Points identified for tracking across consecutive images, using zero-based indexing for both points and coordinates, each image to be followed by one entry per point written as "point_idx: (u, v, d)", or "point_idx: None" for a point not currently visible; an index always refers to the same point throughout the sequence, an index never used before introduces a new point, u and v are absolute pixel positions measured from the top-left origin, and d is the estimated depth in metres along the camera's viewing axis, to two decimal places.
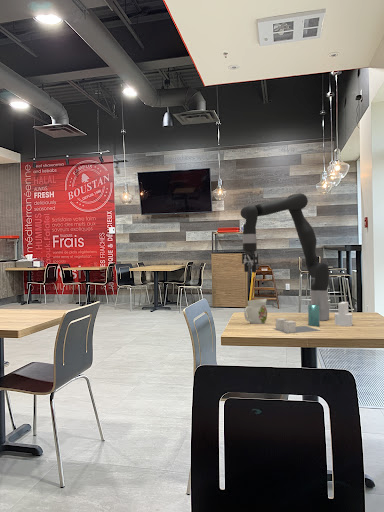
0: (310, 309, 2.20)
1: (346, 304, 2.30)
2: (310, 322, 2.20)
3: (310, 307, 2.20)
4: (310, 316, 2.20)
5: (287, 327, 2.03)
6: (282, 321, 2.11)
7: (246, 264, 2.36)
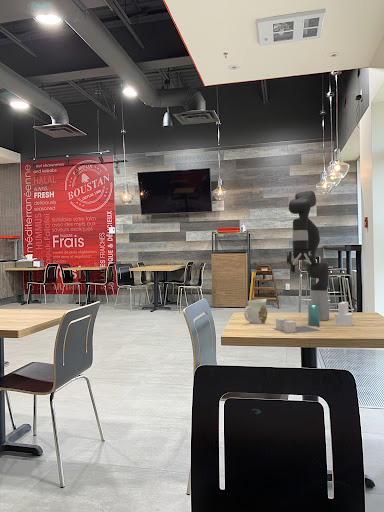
0: (310, 309, 2.20)
1: (346, 304, 2.30)
2: (310, 322, 2.20)
3: (310, 307, 2.20)
4: (310, 316, 2.20)
5: (287, 327, 2.03)
6: (282, 321, 2.11)
7: None
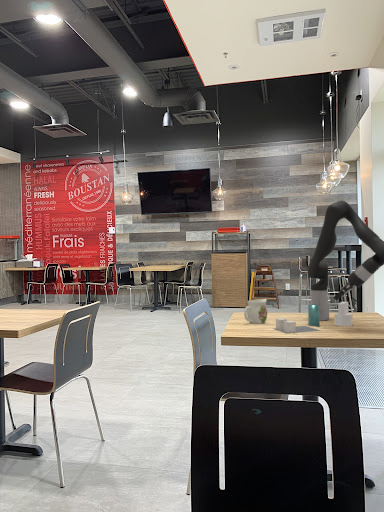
0: (310, 309, 2.20)
1: (346, 304, 2.30)
2: (310, 322, 2.20)
3: (310, 307, 2.20)
4: (310, 316, 2.20)
5: (287, 327, 2.03)
6: (282, 321, 2.11)
7: None
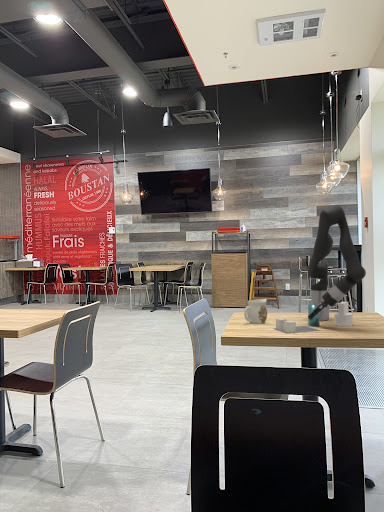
0: (310, 309, 2.20)
1: (346, 304, 2.30)
2: (310, 322, 2.20)
3: (310, 307, 2.20)
4: None
5: (287, 327, 2.03)
6: (282, 321, 2.11)
7: None
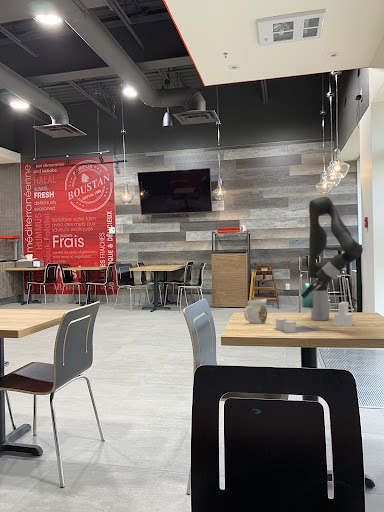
0: (304, 287, 2.12)
1: (346, 304, 2.30)
2: (304, 301, 2.12)
3: (304, 285, 2.12)
4: None
5: (287, 327, 2.03)
6: (282, 321, 2.11)
7: None
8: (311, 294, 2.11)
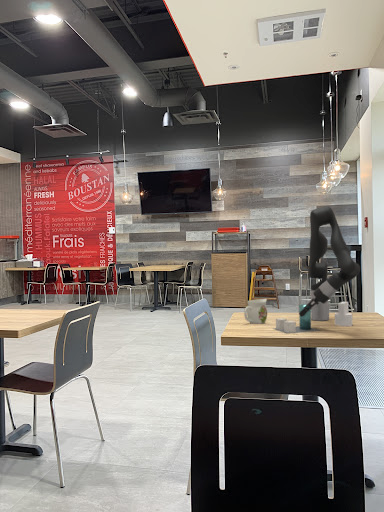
0: (301, 309, 2.10)
1: (346, 304, 2.30)
2: (301, 323, 2.11)
3: (301, 307, 2.10)
4: None
5: (287, 327, 2.03)
6: (282, 321, 2.11)
7: None
8: (308, 316, 2.10)
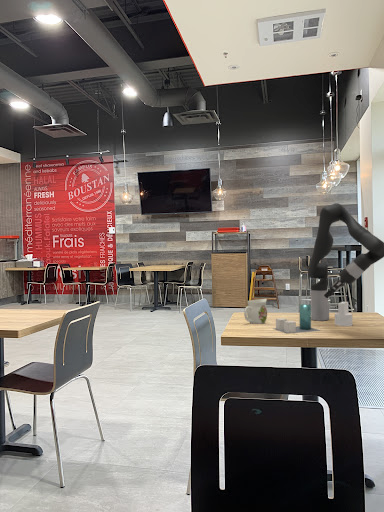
0: (301, 309, 2.10)
1: (346, 304, 2.30)
2: (301, 322, 2.11)
3: (301, 307, 2.10)
4: (301, 316, 2.10)
5: (287, 327, 2.03)
6: (282, 321, 2.11)
7: None
8: (309, 316, 2.10)
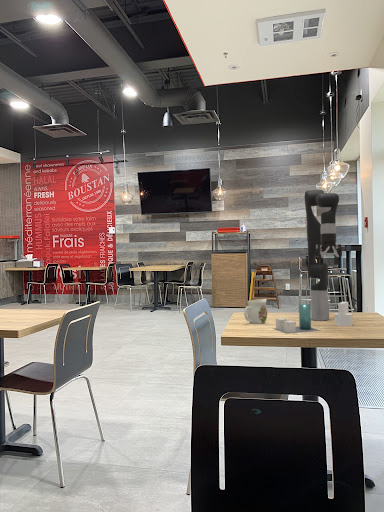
0: (301, 309, 2.10)
1: (346, 304, 2.30)
2: (301, 323, 2.10)
3: (301, 307, 2.10)
4: (301, 316, 2.10)
5: (287, 327, 2.03)
6: (282, 321, 2.11)
7: None
8: (308, 316, 2.10)
